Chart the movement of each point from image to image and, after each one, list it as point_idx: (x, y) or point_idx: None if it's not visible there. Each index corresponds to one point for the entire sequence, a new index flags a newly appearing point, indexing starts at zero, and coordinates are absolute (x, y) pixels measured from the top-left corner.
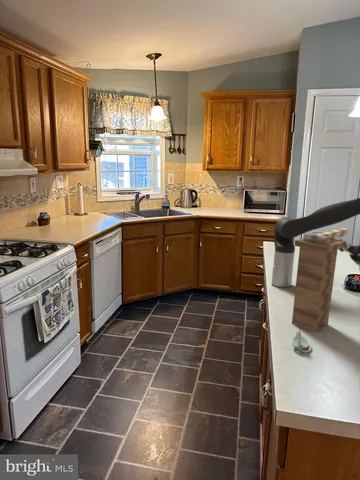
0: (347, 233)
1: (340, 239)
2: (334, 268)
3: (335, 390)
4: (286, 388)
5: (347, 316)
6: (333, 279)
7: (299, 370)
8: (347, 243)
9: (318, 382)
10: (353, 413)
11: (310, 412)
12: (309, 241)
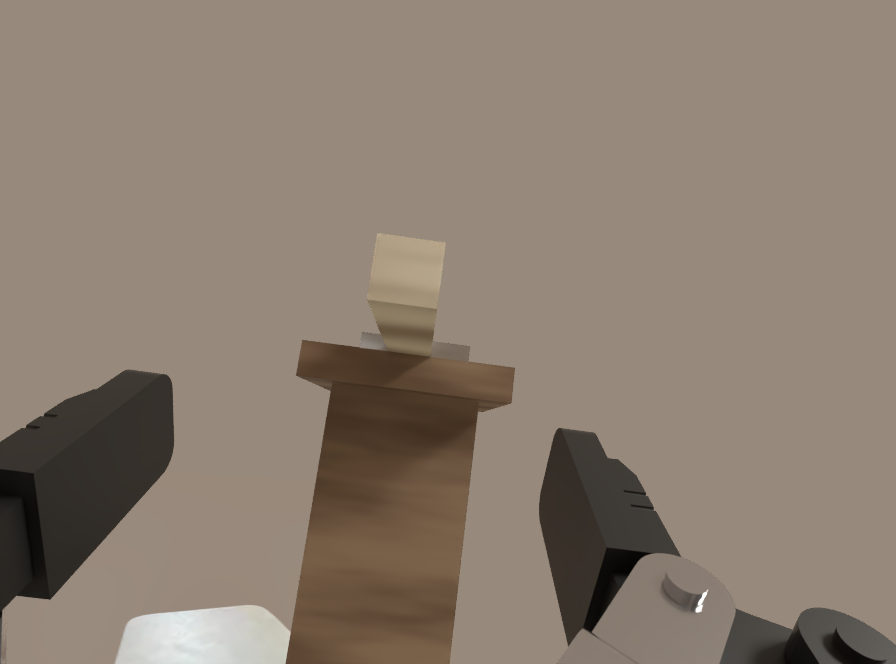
0: (371, 284)
1: (577, 431)
2: (311, 517)
3: (166, 647)
4: (266, 626)
5: None
6: (297, 596)
7: (260, 660)
8: (630, 658)
9: (208, 650)
10: (130, 624)
11: (210, 609)
12: None
